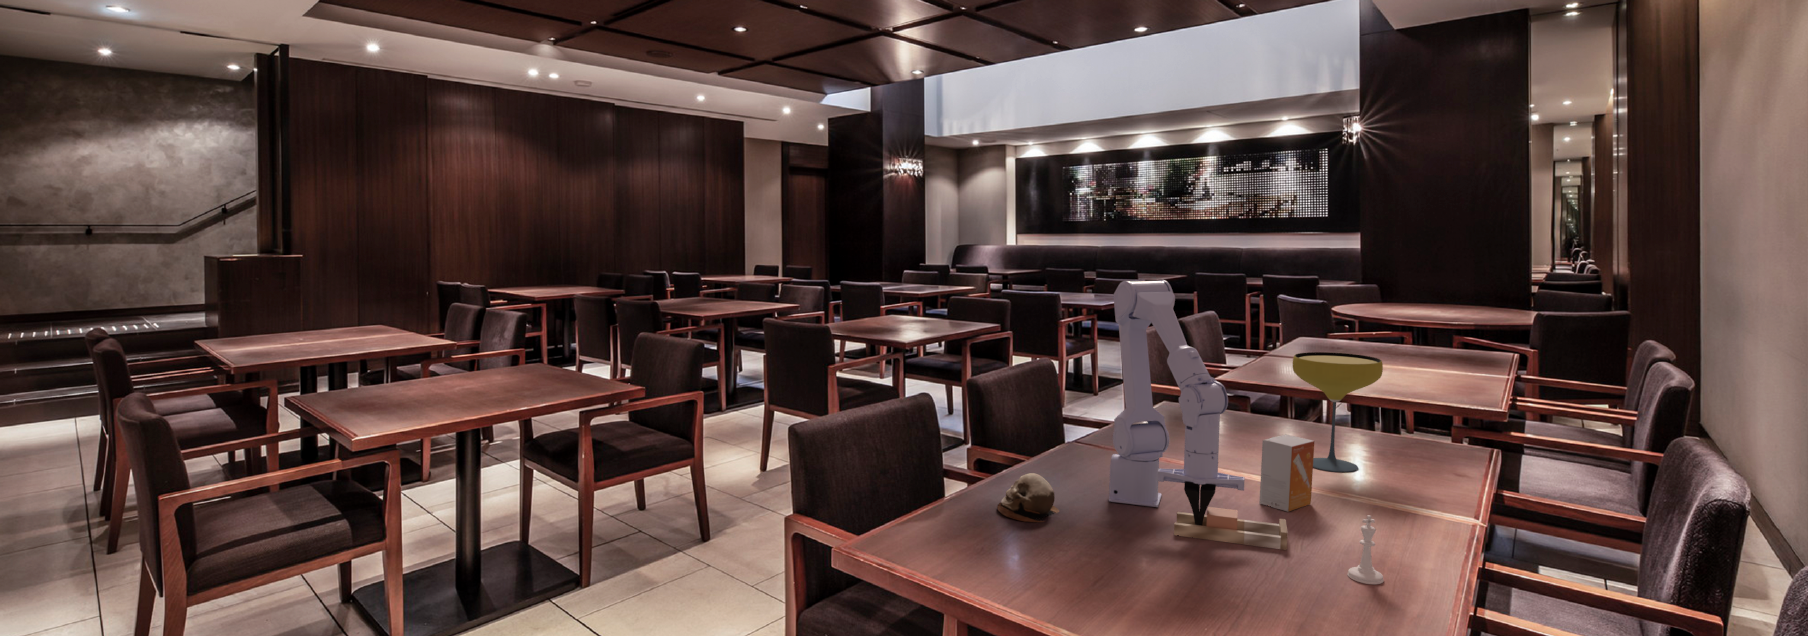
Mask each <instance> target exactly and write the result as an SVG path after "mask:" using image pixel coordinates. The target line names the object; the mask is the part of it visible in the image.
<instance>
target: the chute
mask: <svg viewBox="0 0 1808 636" xmlns="http://www.w3.org/2000/svg"><path fill="white" fill-rule="evenodd" d="M1173 524H1174V525H1173V526H1174V527H1173V536H1177V535H1179V537H1186V538H1192V537H1193V538H1194V539H1201V540H1206V541H1207V540H1208V541H1215V542H1221V543H1222V542H1224V543H1232V544H1238V545H1247V546H1254V547H1262V548H1269V549H1277V550H1285V551H1287V549H1288V535H1289V534H1288V526H1287V520H1286V519H1285V518H1279V521H1278V523H1275V522H1274V523H1272V522H1266V521H1257V520H1249V519H1240V518H1238V519H1237V530H1231V529H1223V528H1215V527H1207V514H1205V515H1204V519H1203V525H1202V526H1199V525H1195V521H1194V515H1193V512H1191V513H1189V512H1182V511H1177V512H1176V521H1175V522H1174V523H1173Z"/></svg>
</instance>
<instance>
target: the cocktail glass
mask: <svg viewBox="0 0 1808 636" xmlns="http://www.w3.org/2000/svg"><path fill="white" fill-rule="evenodd" d="M1383 369H1384V366H1383V361H1382V359H1380V358H1377V357H1373V356H1368V355H1362V354H1356V353H1355V354H1354V353H1347V352H1346V353H1345V352H1328V351H1327V352H1325V351H1323V352H1322V351H1321V352H1320V351H1318V352H1317V351H1315V352H1313V351H1312V352H1311V351H1310V352H1300V353H1296V354H1295V355H1293V358H1292V371H1293V372H1294V374H1295V375H1296V376H1297V377H1298V378H1299V379H1301V380H1303V381H1304V382H1305V383H1307V384H1309V385H1311V386H1313V387H1314V388H1316V389H1318V390H1320V391H1321V392H1322V393H1324V394H1325V396H1326V397H1327V399H1328V400H1329V401H1330V402H1332V417H1331V432H1330V433H1331V435H1330V436H1331V437H1330V446H1329V452H1328V456H1327V457H1314V458H1313V469H1316V470H1320V471H1325V472H1333V473H1352V472H1356V471H1358V469H1359V467H1358V465H1357V464H1355V463H1353V462H1351V461H1347V460H1345V459H1344V460H1343V459H1338V458H1337V457H1336V453H1335V433H1336V413H1337V412H1336V411H1337V403H1339V402H1340V401H1342V400H1343V399H1344V398H1345V396H1346V395H1348V394H1351V393H1352V392H1354V391H1357V390H1361V389H1363V388H1366V387H1369V386H1371V385H1373V384H1374V383H1376V382H1378V380H1380V379H1381V377H1382V375H1383Z"/></svg>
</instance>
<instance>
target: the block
mask: <svg viewBox="0 0 1808 636" xmlns="http://www.w3.org/2000/svg"><path fill="white" fill-rule="evenodd" d="M1238 514H1239V510H1237V509H1231V508H1230V509H1228V508H1219V507H1212V506H1208V507H1207V510H1206V515H1207V527H1215V528H1223V529H1231V530H1237V519H1239V518H1238Z"/></svg>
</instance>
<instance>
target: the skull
mask: <svg viewBox="0 0 1808 636" xmlns="http://www.w3.org/2000/svg"><path fill="white" fill-rule="evenodd" d="M1055 499H1056V498H1055V491H1054V489H1053V487H1052V485H1051V484H1050V483H1049V482H1048V481H1047V480H1046V479H1045V478H1044V477H1043V476H1042V475H1040V474H1038V473H1034V472H1032V473H1026V474H1023V475H1021V476H1020V477H1019V478H1018V479H1016V480H1015V481H1014V483H1013V484H1012V485H1011V486H1010V488H1009V489H1007V490H1006V491H1005V496H1004V497H1003V498H1002V499H1000V502H999V503H998V504H997V507H996V508H997V511H998V512H999V513H1000V514H1001V515H1002V516H1005V517H1007V519H1008V518H1010V519H1013V520H1016V521H1019V522H1025V523H1027V522H1029V523H1044V522H1046V521H1044V520H1046V518H1047V517H1049V516H1053V515H1055V514H1058V513H1059V512H1060V510H1059V508H1058V507H1056V506H1055V505H1054V504H1055Z"/></svg>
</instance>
